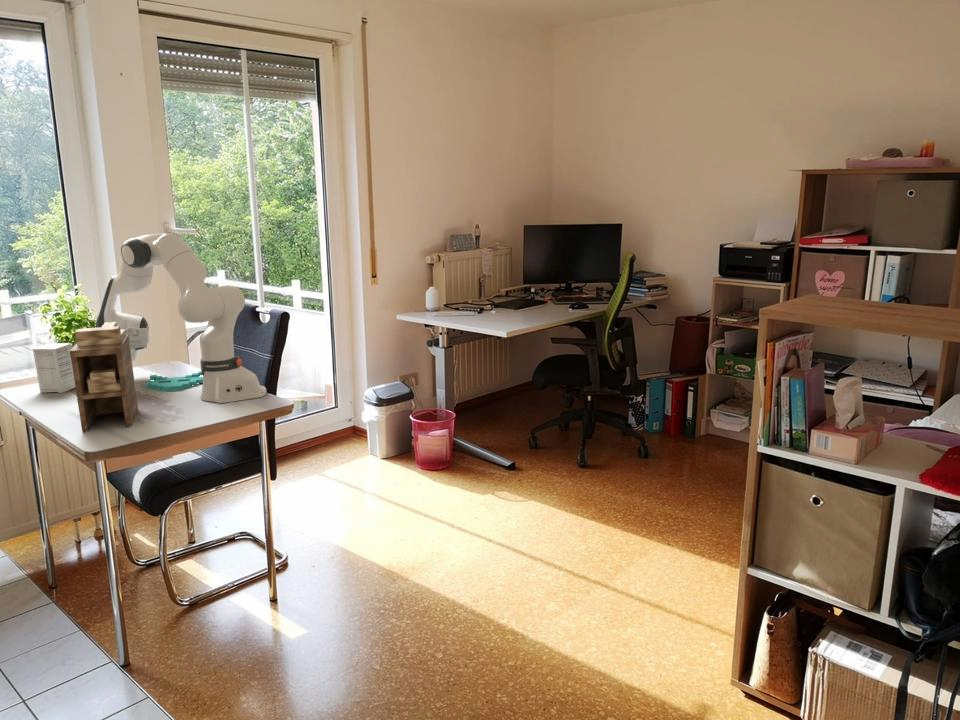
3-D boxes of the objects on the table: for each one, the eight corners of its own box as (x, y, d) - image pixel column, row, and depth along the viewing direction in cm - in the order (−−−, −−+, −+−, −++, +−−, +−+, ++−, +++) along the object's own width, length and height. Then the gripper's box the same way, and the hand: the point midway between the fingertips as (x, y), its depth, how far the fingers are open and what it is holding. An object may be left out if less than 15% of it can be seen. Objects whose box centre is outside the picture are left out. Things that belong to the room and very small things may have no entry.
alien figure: (151, 380, 290) (143, 394, 272) (150, 375, 290) (142, 388, 271) (205, 376, 296) (201, 389, 277) (204, 371, 295) (200, 384, 276)
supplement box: (79, 386, 282) (72, 343, 278) (62, 393, 273) (55, 348, 269) (56, 385, 283) (49, 342, 279) (39, 392, 275) (31, 348, 270)
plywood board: (130, 326, 260) (128, 314, 258) (119, 342, 234) (117, 328, 233) (92, 329, 256) (90, 316, 255) (77, 346, 230) (75, 331, 229)
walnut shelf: (138, 409, 253) (128, 334, 246) (131, 427, 234) (120, 347, 228) (92, 413, 248) (81, 337, 242) (82, 432, 230) (69, 351, 224)
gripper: (91, 335, 276) (82, 323, 264) (150, 332, 283) (145, 319, 270) (91, 352, 275) (83, 340, 262) (151, 347, 281) (146, 336, 268)
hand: (115, 329), depth 266 cm, fingers open, 8 cm apart
